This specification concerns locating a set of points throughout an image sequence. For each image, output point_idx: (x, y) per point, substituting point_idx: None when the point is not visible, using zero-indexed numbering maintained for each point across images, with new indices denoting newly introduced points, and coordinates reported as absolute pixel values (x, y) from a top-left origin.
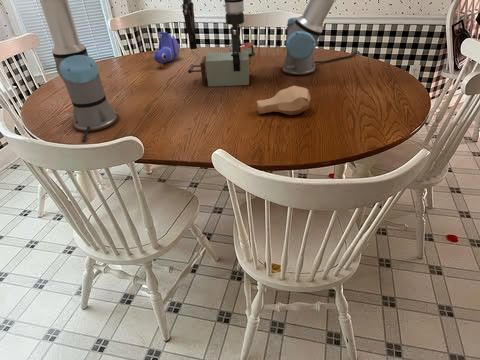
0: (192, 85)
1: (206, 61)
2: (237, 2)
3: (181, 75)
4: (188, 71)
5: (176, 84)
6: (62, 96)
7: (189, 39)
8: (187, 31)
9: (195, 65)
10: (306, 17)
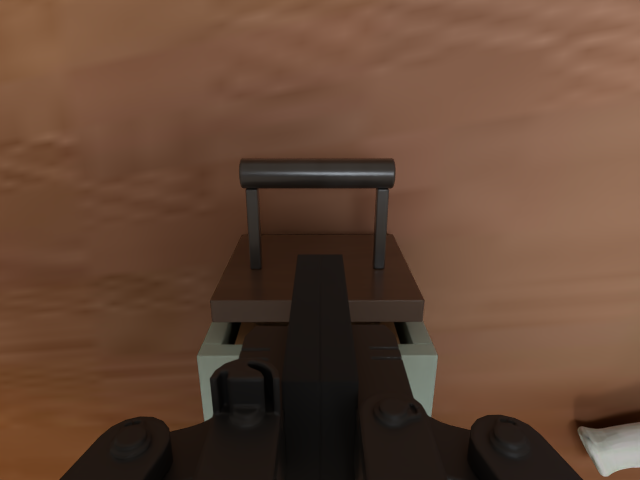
0: (261, 157)
1: (198, 363)
2: None
3: (483, 32)
4: (241, 162)
5: (287, 27)
6: None
7: (289, 325)
8: (86, 466)
9: (379, 204)
10: None
